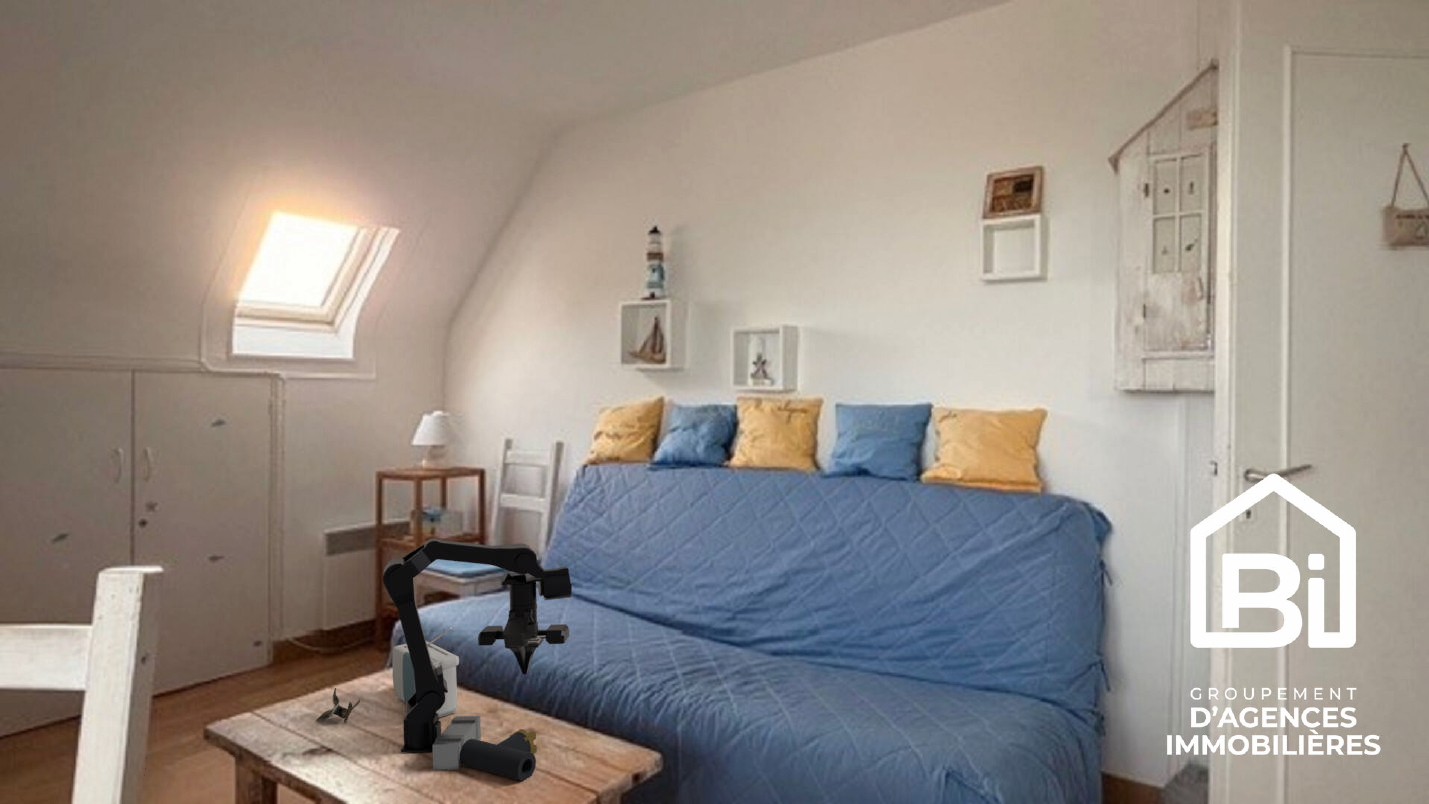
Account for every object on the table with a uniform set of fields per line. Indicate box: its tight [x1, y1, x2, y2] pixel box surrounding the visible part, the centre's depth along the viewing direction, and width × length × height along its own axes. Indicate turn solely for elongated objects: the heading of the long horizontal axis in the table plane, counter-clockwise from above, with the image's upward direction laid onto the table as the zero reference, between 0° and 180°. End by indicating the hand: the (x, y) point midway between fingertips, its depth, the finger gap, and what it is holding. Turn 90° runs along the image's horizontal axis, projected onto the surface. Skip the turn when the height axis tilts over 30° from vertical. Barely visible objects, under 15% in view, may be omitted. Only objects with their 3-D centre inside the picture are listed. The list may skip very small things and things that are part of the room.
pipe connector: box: [460, 728, 538, 782], centre depth 159 cm, size 12×5×15 cm
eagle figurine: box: [315, 687, 361, 724], centre depth 183 cm, size 8×7×9 cm
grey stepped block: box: [432, 715, 482, 771], centre depth 164 cm, size 5×14×5 cm, turn 179°
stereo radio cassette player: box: [391, 626, 460, 719], centre depth 190 cm, size 21×8×20 cm, turn 43°
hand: (525, 673), depth 175 cm, fingers closed
